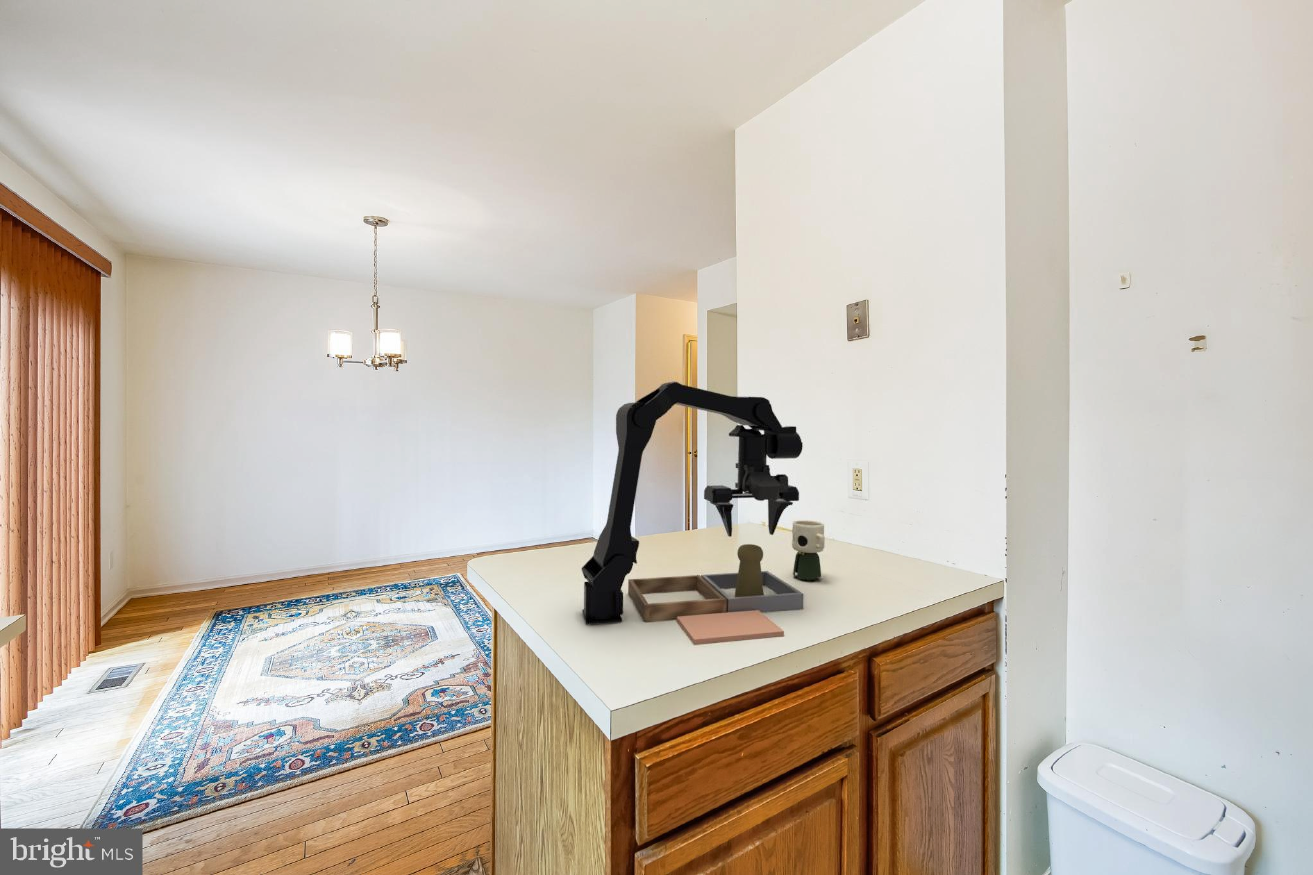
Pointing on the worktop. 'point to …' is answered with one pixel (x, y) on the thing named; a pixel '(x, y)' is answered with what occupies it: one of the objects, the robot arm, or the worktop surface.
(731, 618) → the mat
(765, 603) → the charcoal bin
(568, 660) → the worktop surface
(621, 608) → the robot arm
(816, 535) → the character mug
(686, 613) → the walnut bin
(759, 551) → the cork
